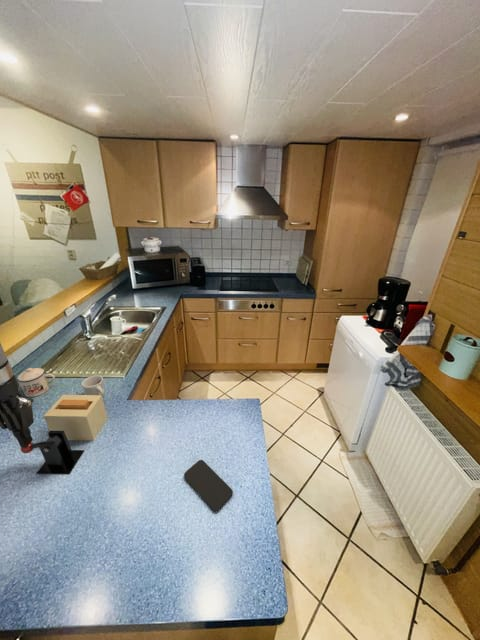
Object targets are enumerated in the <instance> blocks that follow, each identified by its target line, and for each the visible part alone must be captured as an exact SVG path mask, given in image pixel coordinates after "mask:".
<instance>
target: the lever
mask: <svg viewBox="0 0 480 640" xmlns="http://www.w3.org/2000/svg"><path fill="white" fill-rule="evenodd" d="M40 442H41V441H38V442H35V443H34V442H32V441H31V442H30V444H29V445H28V446H27V447H21V446H20V451H21V453H23V454H30V453H32V452H33V450H34V449H40V448H39V446H38V444H39V443H40ZM42 442H55V443H56V445H57V446H58V444H59V443H60V442H61V439H60V438H59V437H58V436H57V435H55V436H51V437H49V436H48V438H47V439H46V440H43V441H42Z"/></svg>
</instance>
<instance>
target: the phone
mask: <svg viewBox="0 0 480 640" xmlns="http://www.w3.org/2000/svg"><path fill="white" fill-rule="evenodd" d="M183 477H184V479H185V481H186V482H187V483H188V484H189V485H190V486H191V487H192V489H193V490H194V491H195V492H196V493H197V494H198V496H200V498H201V499H202V500H203V501H204V502H205V504H206V505H207V506H208V507H209V508H210V510H211V511H212V512H213V513H214V512H215V513H217V512H218V511H220V510H221V509H222V508H223V507H224V506H225V504H226V503H227V502H228V501H229V500H230V499H231V498H232V497H233V494H234V492H233V489H232V487H231V486H229V485H228V484H227V482H225V481H224V480H223V479H222V477H220V476H219V474H217V472H215V471H214V469H212V468H211V466H209V465H208V464H207V463H206V462H205V461H204V460H203V459H199V460H198V461H196V462H195V463H194V464H193V465H192V466H191V467H189V468H188V469H186V471H185V472H184V473H183Z"/></svg>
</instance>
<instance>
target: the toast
mask: <svg viewBox="0 0 480 640" xmlns="http://www.w3.org/2000/svg"><path fill="white" fill-rule="evenodd" d="M89 406H90V404H89V401H88V400H62V401H61V402H60V403H59V404H58V407H59V409H71V410H87V409H88V408H89Z"/></svg>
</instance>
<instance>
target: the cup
mask: <svg viewBox="0 0 480 640" xmlns="http://www.w3.org/2000/svg"><path fill="white" fill-rule="evenodd" d="M81 387H82V390H83V391H84V395H102V398H104V397H105V394H106V389H105V381H104V377H103V376H102V375H99V374H98V375H97V374H96V375H91V376H88V377H86V378H85V379H83V381H82V382H81Z"/></svg>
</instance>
